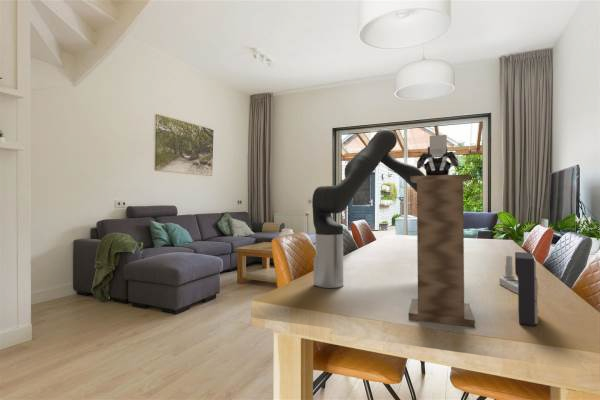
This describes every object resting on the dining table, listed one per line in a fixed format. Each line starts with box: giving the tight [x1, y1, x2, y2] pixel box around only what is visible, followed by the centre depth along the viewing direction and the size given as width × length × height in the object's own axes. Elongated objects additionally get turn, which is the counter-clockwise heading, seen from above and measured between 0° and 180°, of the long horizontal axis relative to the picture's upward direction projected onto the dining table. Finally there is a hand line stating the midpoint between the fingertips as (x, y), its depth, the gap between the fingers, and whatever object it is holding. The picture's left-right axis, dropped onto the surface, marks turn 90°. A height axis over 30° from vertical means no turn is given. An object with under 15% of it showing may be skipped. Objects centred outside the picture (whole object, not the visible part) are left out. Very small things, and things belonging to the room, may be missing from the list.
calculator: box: [514, 251, 539, 327], centre depth 81 cm, size 11×4×15 cm, turn 148°
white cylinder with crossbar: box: [429, 134, 448, 158], centre depth 105 cm, size 21×4×4 cm, turn 159°
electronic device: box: [498, 255, 518, 295], centre depth 108 cm, size 5×10×15 cm
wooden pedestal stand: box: [408, 173, 476, 328], centre depth 84 cm, size 14×14×34 cm
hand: (437, 146), depth 109 cm, fingers closed on white cylinder with crossbar, 3 cm apart
